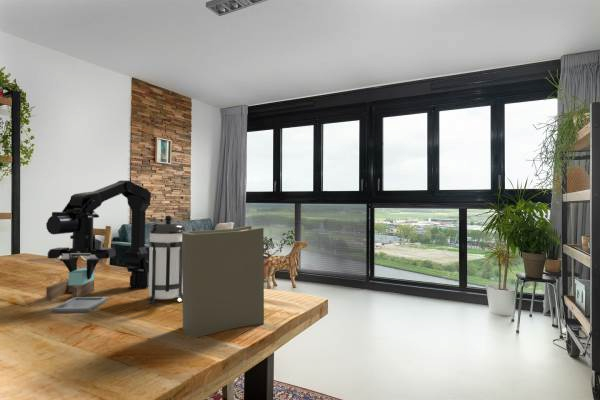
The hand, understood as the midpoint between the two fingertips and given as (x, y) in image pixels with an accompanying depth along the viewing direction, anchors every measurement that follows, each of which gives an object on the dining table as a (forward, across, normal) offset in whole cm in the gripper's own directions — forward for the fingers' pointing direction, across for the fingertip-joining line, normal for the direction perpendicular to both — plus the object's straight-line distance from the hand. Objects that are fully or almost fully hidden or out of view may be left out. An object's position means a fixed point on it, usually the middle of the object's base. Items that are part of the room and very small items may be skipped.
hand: (82, 279), depth 113 cm
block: (-1, 0, -4) cm, 4 cm away
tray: (+9, 0, 0) cm, 9 cm away
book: (+9, -48, +20) cm, 53 cm away
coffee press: (+9, -26, -6) cm, 28 cm away
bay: (+9, +10, -13) cm, 19 cm away
